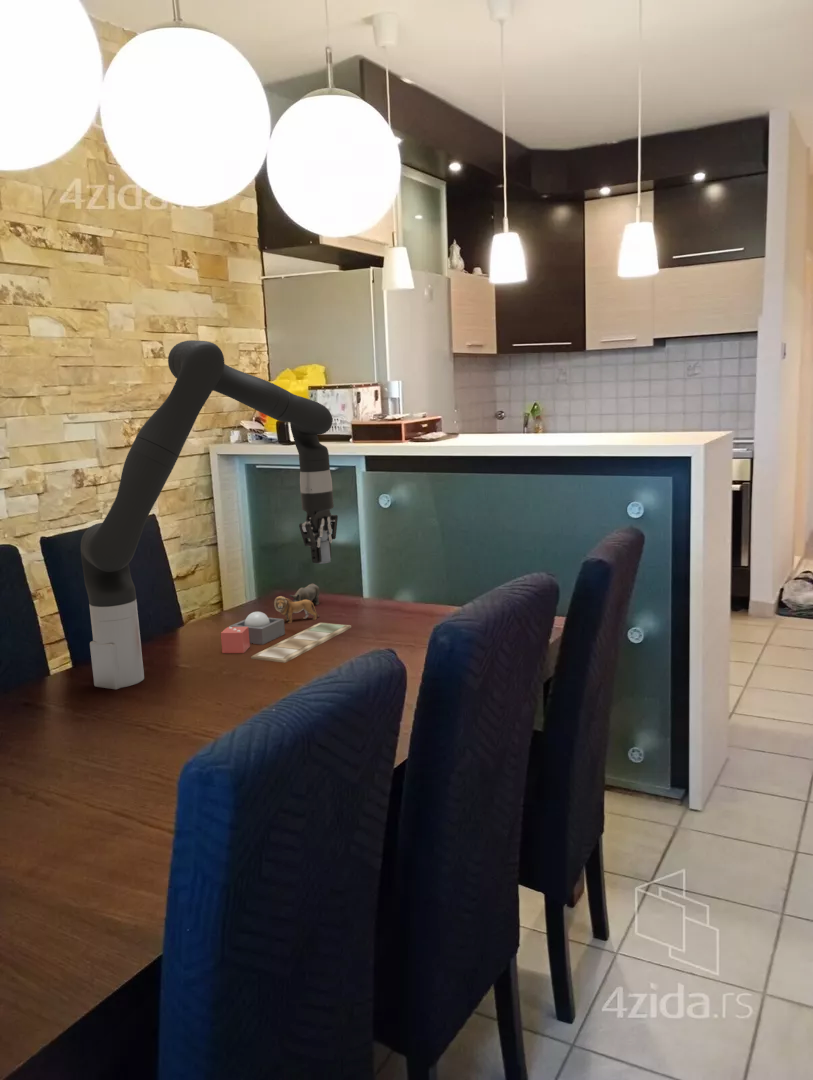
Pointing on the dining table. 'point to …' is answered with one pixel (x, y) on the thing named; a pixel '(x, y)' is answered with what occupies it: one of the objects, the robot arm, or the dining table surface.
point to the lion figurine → (294, 607)
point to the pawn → (324, 548)
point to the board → (301, 642)
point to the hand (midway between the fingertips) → (322, 560)
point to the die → (235, 640)
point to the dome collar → (264, 631)
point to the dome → (257, 620)
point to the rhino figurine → (307, 594)
